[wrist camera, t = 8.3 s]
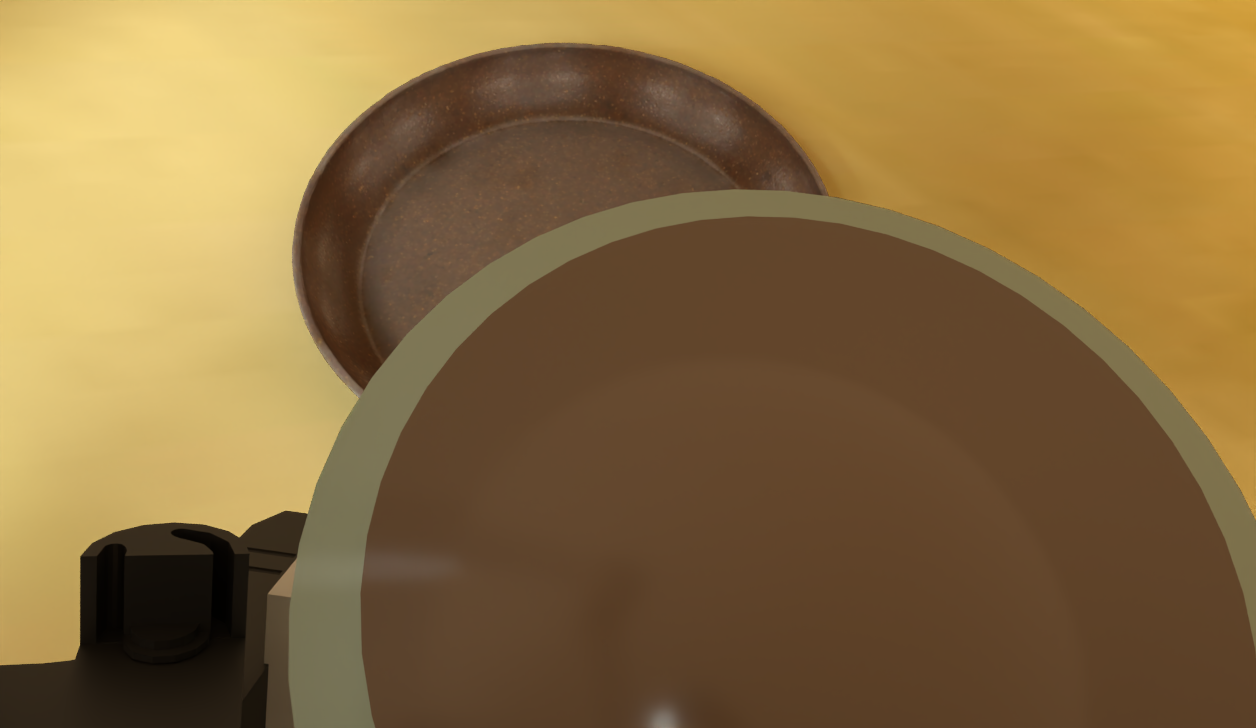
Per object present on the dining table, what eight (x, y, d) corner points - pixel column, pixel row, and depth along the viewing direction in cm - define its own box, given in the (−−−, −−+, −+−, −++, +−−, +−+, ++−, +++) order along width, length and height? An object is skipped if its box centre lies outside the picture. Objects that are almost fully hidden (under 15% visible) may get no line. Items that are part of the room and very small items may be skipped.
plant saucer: (291, 130, 38) (271, 68, 35) (736, 71, 41) (748, 10, 39) (338, 570, 29) (317, 531, 27) (898, 453, 33) (927, 408, 30)
